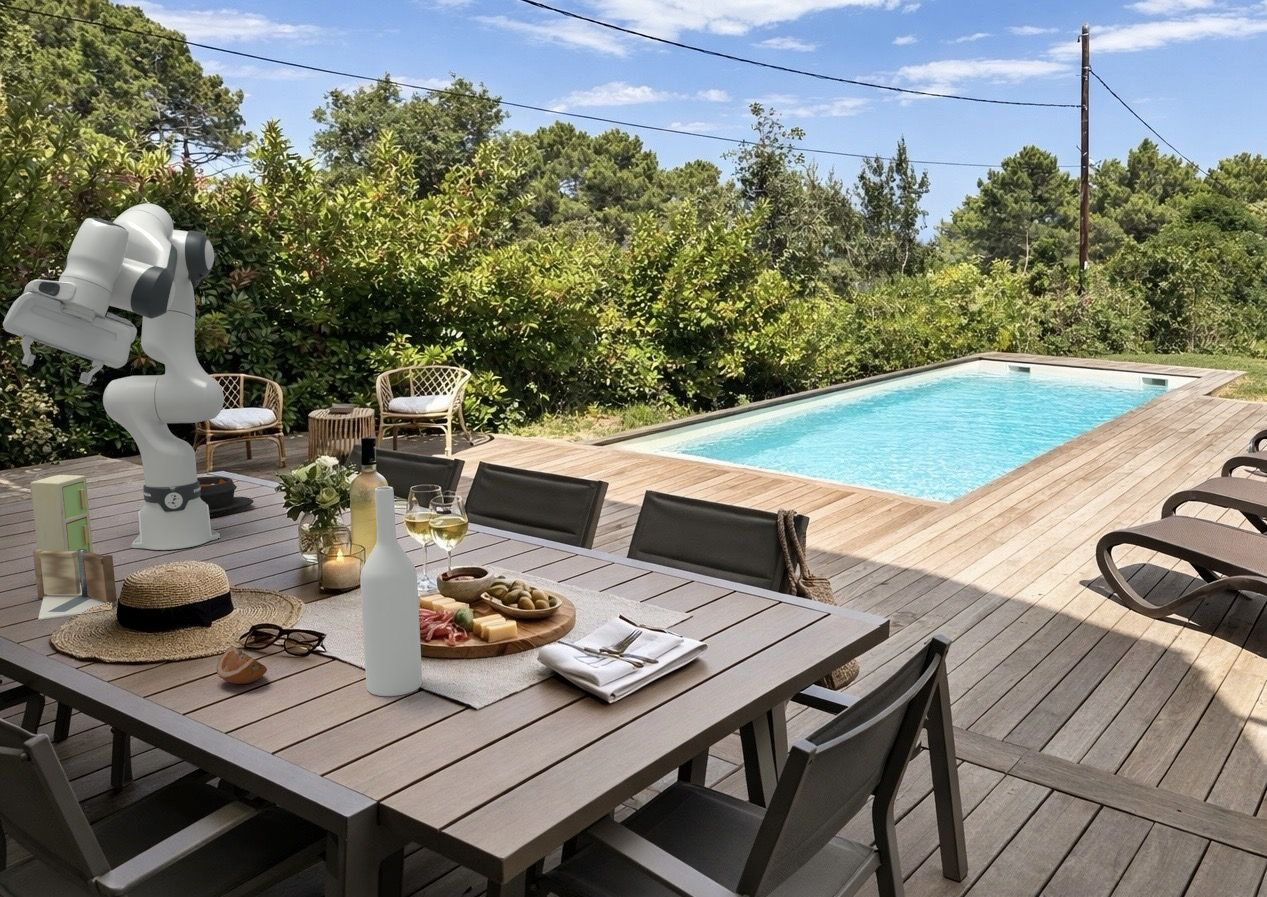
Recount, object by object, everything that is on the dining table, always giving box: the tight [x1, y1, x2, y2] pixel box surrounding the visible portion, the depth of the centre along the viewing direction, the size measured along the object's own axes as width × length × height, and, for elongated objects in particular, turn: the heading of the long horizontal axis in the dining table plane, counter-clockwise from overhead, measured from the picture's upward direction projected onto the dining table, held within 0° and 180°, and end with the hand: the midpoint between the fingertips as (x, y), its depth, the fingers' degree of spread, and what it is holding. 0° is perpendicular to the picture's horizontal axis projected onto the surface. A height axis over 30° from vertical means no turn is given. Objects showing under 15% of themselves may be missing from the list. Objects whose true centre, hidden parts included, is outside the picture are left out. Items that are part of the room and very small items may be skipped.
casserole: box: [197, 476, 254, 516], centre depth 273 cm, size 25×19×8 cm
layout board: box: [37, 583, 107, 621], centre depth 199 cm, size 21×12×1 cm, turn 26°
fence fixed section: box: [32, 548, 90, 599], centre depth 200 cm, size 10×2×10 cm, turn 86°
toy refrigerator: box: [29, 474, 94, 579], centre depth 212 cm, size 8×7×21 cm
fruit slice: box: [216, 645, 268, 685], centre depth 156 cm, size 8×7×5 cm
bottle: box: [359, 485, 423, 697], centre depth 152 cm, size 8×8×30 cm
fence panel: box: [82, 552, 118, 603], centre depth 197 cm, size 8×2×9 cm, turn 56°
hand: (55, 373), depth 184 cm, fingers open, 8 cm apart
